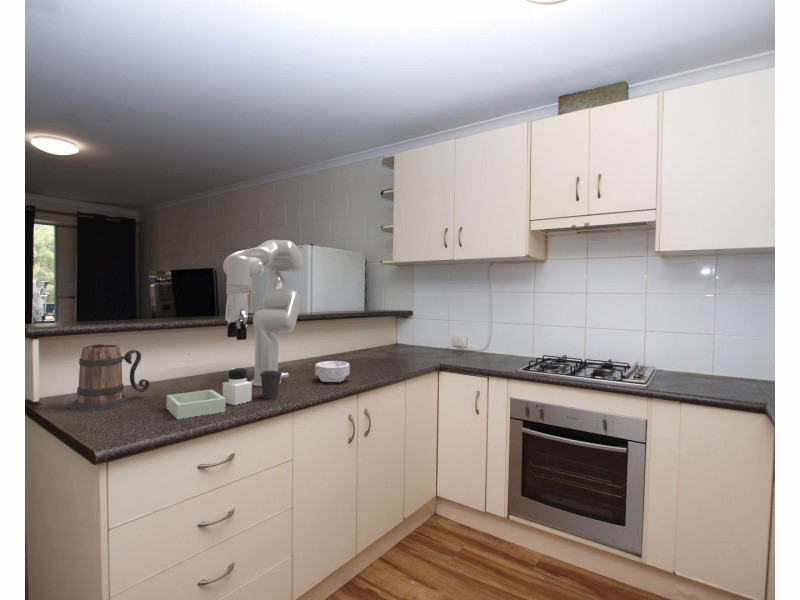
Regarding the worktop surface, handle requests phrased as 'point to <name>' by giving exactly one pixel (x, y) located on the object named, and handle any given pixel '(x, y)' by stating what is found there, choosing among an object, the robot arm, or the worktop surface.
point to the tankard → (104, 378)
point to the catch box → (195, 404)
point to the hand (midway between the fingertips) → (236, 338)
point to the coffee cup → (270, 384)
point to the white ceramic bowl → (332, 371)
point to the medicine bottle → (237, 387)
